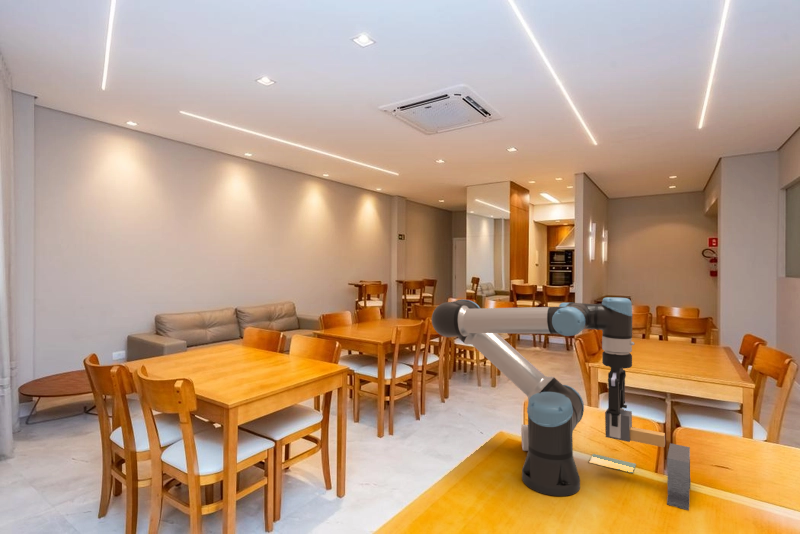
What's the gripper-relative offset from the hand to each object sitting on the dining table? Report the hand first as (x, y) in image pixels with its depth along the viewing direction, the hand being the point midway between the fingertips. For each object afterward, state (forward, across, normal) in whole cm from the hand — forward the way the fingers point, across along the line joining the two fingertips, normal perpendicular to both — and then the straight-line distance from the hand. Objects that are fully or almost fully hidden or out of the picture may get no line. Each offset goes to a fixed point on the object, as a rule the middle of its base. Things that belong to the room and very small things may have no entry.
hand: (616, 433), depth 118 cm
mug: (+13, +6, +24) cm, 28 cm away
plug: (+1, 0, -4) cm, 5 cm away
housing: (+12, 0, -15) cm, 19 cm away
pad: (+12, +8, +2) cm, 15 cm away
